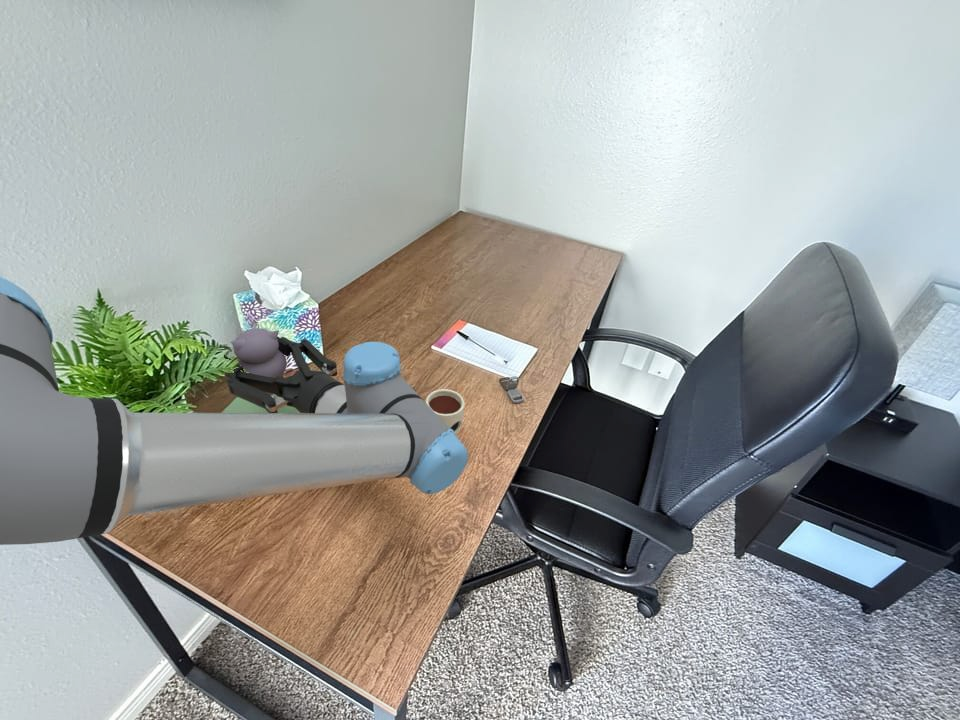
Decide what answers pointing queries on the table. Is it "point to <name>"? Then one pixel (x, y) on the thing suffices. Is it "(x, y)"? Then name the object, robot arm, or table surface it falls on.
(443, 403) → the character mug
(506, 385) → the strap clip
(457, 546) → the table surface
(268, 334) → the cat figurine
